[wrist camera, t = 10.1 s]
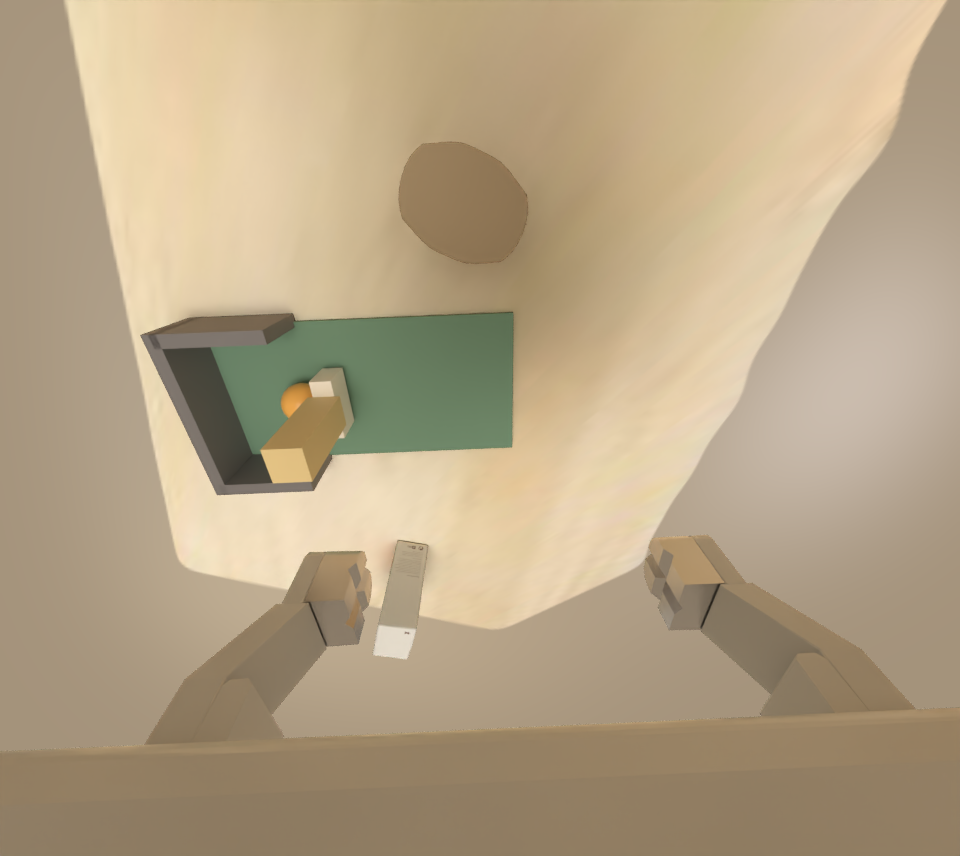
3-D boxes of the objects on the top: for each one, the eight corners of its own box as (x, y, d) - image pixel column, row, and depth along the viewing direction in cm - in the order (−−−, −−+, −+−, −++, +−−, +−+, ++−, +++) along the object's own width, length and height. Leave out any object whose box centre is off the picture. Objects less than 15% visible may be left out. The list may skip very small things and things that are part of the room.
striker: (317, 368, 37) (253, 431, 26) (347, 367, 37) (296, 430, 26) (331, 421, 40) (278, 498, 29) (359, 420, 40) (317, 497, 29)
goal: (188, 317, 35) (140, 335, 30) (292, 313, 35) (262, 330, 30) (247, 461, 43) (217, 495, 38) (332, 458, 43) (313, 491, 38)
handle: (490, 255, 33) (503, 280, 20) (421, 225, 32) (387, 230, 19) (512, 196, 31) (543, 182, 18) (439, 161, 30) (416, 118, 17)
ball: (268, 386, 36) (287, 396, 34) (307, 373, 39) (327, 382, 37) (280, 422, 38) (299, 434, 36) (316, 408, 41) (336, 418, 38)
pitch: (187, 325, 36) (184, 326, 35) (512, 312, 36) (513, 313, 36) (242, 456, 43) (240, 458, 43) (511, 445, 43) (512, 447, 43)
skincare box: (397, 539, 50) (377, 623, 40) (428, 544, 51) (418, 629, 40) (390, 569, 53) (371, 656, 42) (420, 574, 53) (409, 660, 43)
